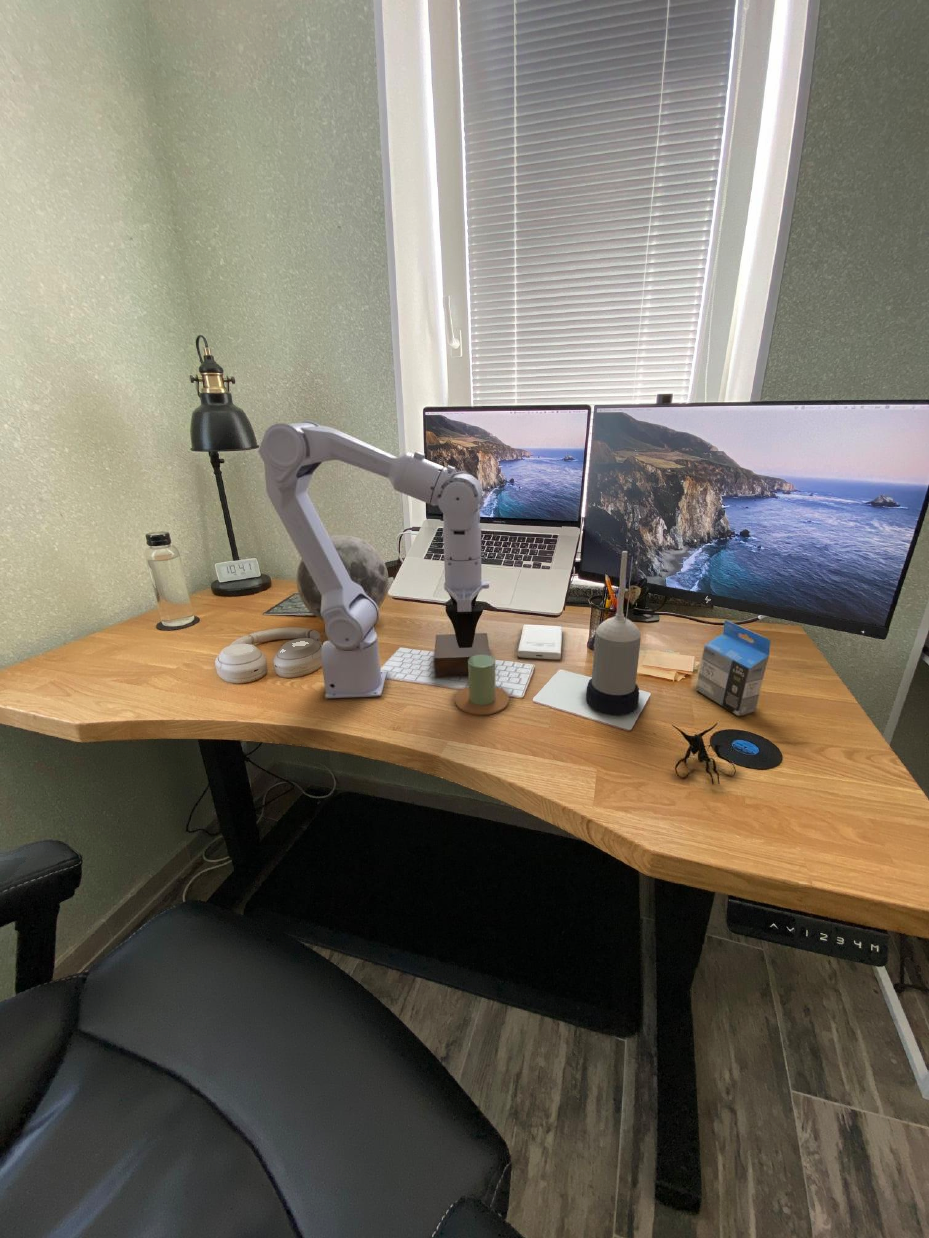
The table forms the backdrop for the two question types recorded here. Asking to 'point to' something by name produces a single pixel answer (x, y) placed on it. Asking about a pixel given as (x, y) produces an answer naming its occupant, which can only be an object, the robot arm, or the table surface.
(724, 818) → the table surface
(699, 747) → the creature
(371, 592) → the moon model
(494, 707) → the coaster
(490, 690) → the sage green cylinder
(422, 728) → the table surface
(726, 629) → the label tape box
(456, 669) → the stand
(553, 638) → the hard drive
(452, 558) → the robot arm
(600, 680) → the humidifier
